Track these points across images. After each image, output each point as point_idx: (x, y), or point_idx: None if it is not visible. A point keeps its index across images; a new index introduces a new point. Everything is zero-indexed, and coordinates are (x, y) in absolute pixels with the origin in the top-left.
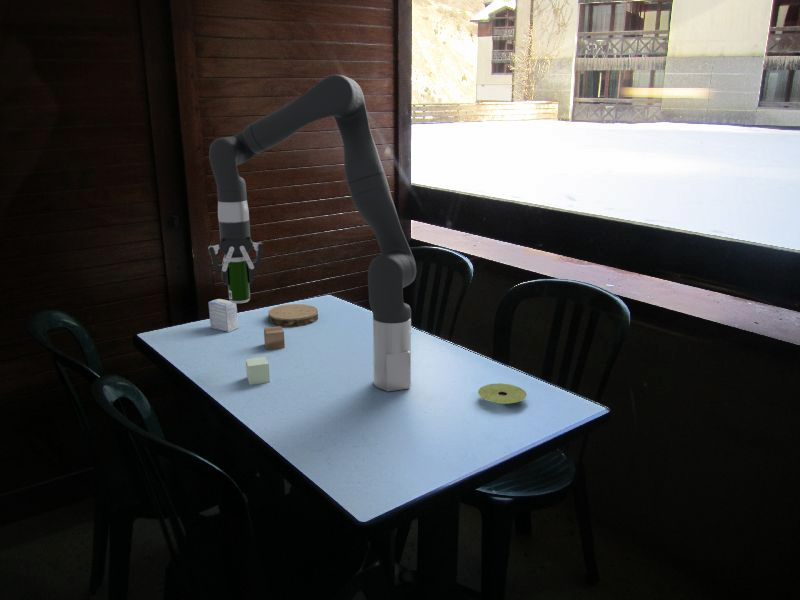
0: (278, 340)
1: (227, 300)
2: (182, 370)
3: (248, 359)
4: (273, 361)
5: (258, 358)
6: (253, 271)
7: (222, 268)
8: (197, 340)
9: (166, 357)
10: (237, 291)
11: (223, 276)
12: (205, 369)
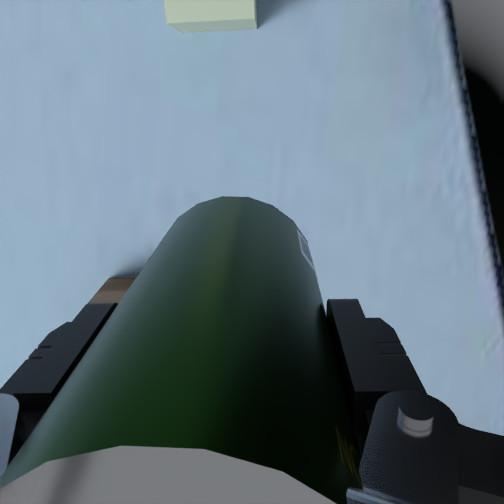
0: (118, 291)
1: None
2: (469, 176)
3: (242, 10)
4: (151, 162)
5: (198, 10)
6: (6, 391)
7: (451, 427)
8: None
9: (496, 311)
10: (249, 221)
11: (396, 366)
12: (392, 160)
